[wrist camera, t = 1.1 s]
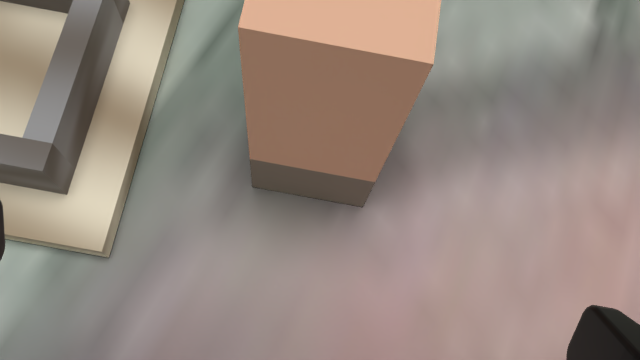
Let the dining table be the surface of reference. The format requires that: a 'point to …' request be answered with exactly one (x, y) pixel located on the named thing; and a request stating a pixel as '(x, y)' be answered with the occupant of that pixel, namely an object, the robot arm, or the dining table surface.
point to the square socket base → (76, 113)
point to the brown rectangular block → (331, 89)
